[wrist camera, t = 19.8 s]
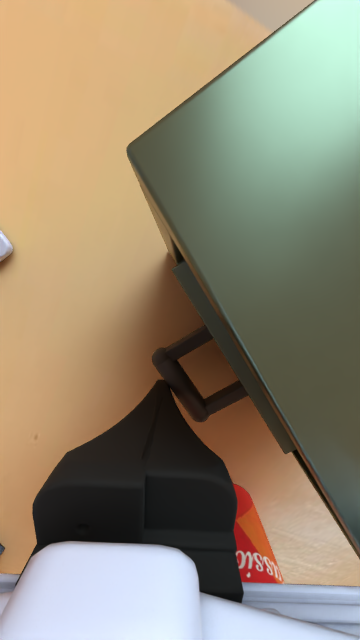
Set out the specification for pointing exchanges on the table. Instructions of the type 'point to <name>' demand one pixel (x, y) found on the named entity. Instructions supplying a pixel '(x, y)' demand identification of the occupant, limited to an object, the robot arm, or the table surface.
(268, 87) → the cabinet
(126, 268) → the table surface
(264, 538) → the coffee cup
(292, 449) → the drawer
